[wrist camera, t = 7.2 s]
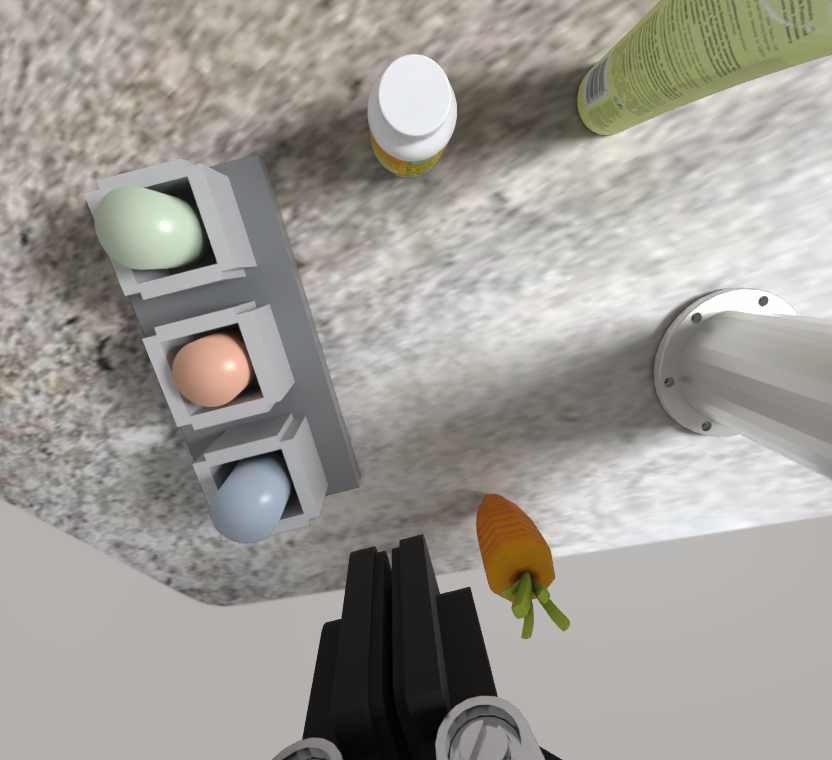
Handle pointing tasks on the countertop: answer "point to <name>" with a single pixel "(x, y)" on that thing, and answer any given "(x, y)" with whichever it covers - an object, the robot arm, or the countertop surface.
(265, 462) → the button slate
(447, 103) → the supplement bottle
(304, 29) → the countertop surface
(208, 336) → the button terracotta
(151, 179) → the three-cup grey tray
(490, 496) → the carrot
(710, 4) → the tube
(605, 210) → the countertop surface
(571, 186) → the countertop surface
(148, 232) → the button sage
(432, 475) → the countertop surface
